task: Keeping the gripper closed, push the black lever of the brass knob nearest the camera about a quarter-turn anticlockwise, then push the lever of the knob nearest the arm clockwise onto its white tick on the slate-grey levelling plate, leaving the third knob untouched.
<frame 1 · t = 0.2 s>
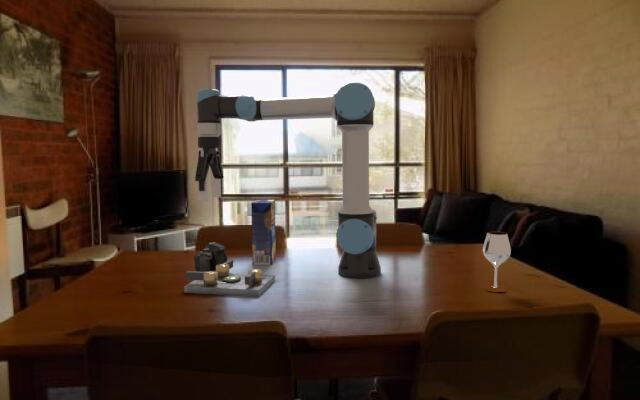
hand: (210, 199, 164), 27 cm above the table, fingers open, 13 cm apart
wineglass: (495, 290, 150), on the table
camera: (212, 270, 178), on the table
knob near: (201, 277, 152), point 4 cm above the table, hinge at 0.0°
juice carton: (264, 261, 191), on the table
knob far: (225, 267, 164), point 4 cm above the table, hinge at 0.0°
knob arm: (252, 277, 151), point 4 cm above the table, hinge at 0.0°
level plate: (231, 286, 156), on the table
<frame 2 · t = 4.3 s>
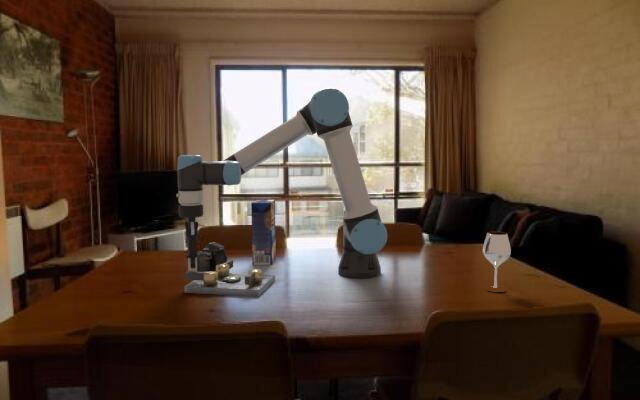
hand: (193, 277, 154), 3 cm above the table, fingers closed
knob near: (201, 277, 152), point 4 cm above the table, hinge at 2.6°, touching gripper
everything else where it was.
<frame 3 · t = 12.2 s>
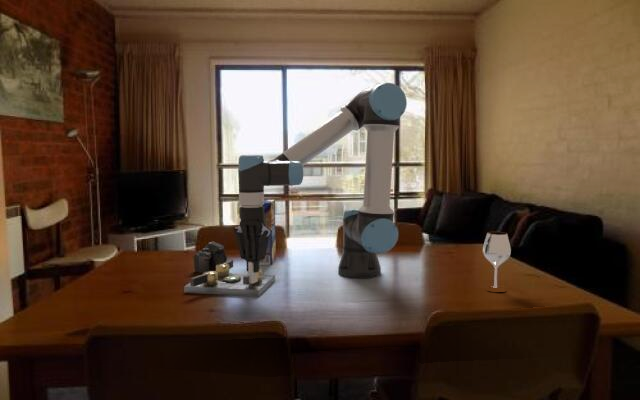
hand: (253, 282, 148), 3 cm above the table, fingers closed
knob near: (204, 279, 149), point 4 cm above the table, hinge at 70.5°
knob arm: (251, 277, 151), point 4 cm above the table, hinge at -3.8°, touching gripper
everything else where it was.
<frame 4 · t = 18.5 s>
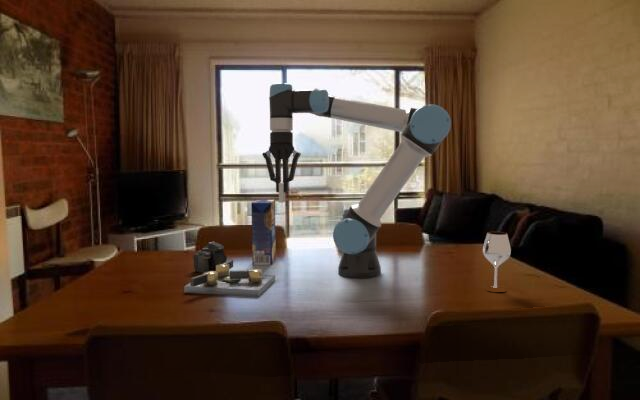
hand: (282, 202, 162), 26 cm above the table, fingers closed
knob arm: (246, 275, 154), point 4 cm above the table, hinge at -73.6°
at the end: knob near at +70° (first picture: +0°); knob arm at -74° (first picture: +0°); knob far at +0° (first picture: +0°) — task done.
